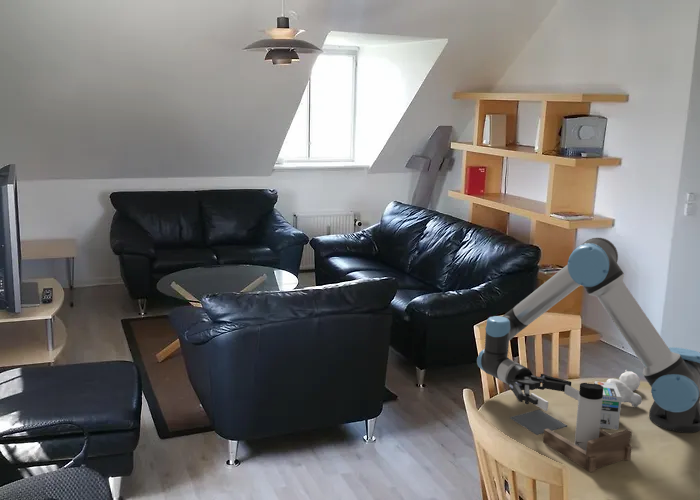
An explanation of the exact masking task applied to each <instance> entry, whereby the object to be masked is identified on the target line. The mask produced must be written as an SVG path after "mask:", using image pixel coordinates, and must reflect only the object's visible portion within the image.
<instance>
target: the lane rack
mask: <svg viewBox="0 0 700 500" xmlns="http://www.w3.org/2000/svg"><path fill="white" fill-rule="evenodd" d="M631 436H632V430H629V429H627V428H626V429H624V430H620V431H617V432H614V433H609V432H607V431H605V430H603V428H600V431H599V438H596V439H593V440H590V441H587V450H586V451H585V450H583V449H582V448H580V447H578V446H577V445H575V443H573V442H572V441H570V440H568V439H566V438H565V437H563V436H561V435H560V434H558V433H557V432H555V431H551V430H550V429H544V433H543V436H542V438H543V439H542V443H543V444H545V445H547V446H548V447H550V448H551V449H553V450H554V451H556V452H558V453H559V454H561V455H562V456H564V457H565V458H567V459H569V460H570V461H572V462H574V463H575V464H577V465H579V466H580V467H581V468H583V469H584V470H586V471H588V472H590V473H594V472H596V470H597V469H600V468H603V467H606V466H609V465H612V464H614V463H617V462H621V461H626V462H627V461H630V460H631V457H632V449H633V445H631V438H632V437H631Z"/></svg>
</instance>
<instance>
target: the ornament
mask: <svg viewBox="0 0 700 500" xmlns="http://www.w3.org/2000/svg"><path fill="white" fill-rule="evenodd" d="M618 380H620V381H622V382H623V383H624V384H625V385H627V387H628V388H630V390H631V391H632V392H634V391H636V390H638V389H639V386H640V385H641V379H640V377H639V375H638V374H637V373H635V372H633V371H628V369H625V371H624V372H623V373H621V374H620V376H619V378H618Z"/></svg>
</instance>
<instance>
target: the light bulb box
mask: <svg viewBox="0 0 700 500" xmlns="http://www.w3.org/2000/svg"><path fill="white" fill-rule="evenodd" d="M594 384H599V385H601V386H603V400H602V411H601V421H600V429H608V430H616V431H618V430H619V428H620V416H621V410H622V409H621V408H622V402H621V401H622V396H621V394H620V392H619V390H618V387H617V384H616V383H606V381H605V382H604V381H596V380H595V381H594Z"/></svg>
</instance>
